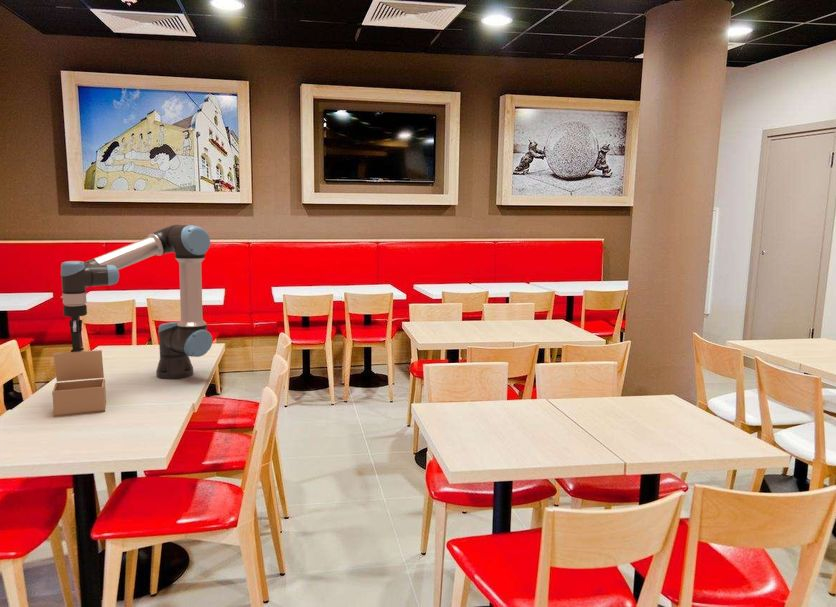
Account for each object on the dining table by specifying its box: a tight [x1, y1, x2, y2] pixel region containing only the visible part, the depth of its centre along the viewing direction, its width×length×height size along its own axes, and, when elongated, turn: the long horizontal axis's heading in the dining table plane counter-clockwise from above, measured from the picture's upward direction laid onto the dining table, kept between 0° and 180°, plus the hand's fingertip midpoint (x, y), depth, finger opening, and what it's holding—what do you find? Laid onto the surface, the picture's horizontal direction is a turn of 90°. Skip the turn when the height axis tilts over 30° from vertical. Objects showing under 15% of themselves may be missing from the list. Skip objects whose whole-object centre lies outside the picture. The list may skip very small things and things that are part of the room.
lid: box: [52, 349, 105, 383], centre depth 241 cm, size 15×12×1 cm
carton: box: [51, 378, 107, 418], centre depth 238 cm, size 16×12×9 cm
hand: (78, 368), depth 242 cm, fingers closed
